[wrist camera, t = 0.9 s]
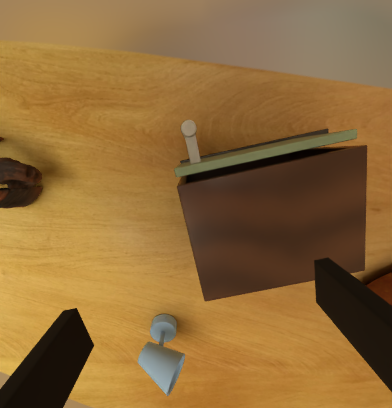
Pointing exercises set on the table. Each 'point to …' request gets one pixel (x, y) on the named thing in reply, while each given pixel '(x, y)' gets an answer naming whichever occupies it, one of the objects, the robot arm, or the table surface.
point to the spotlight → (162, 354)
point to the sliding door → (250, 150)
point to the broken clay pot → (18, 183)
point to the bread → (383, 287)
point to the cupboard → (276, 217)
